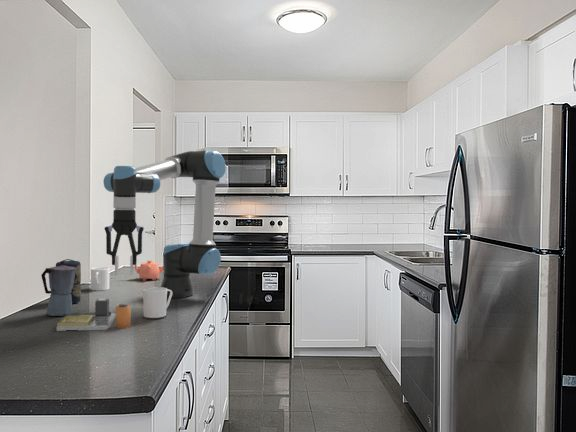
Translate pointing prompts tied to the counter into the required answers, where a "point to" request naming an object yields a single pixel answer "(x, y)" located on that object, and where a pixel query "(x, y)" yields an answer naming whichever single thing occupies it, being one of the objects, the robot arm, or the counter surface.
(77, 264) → the canister
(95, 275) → the mug
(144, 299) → the mug
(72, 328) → the panel
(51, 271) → the moka pot
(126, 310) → the cap
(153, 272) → the teapot
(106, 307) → the breaker slider
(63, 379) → the counter surface
